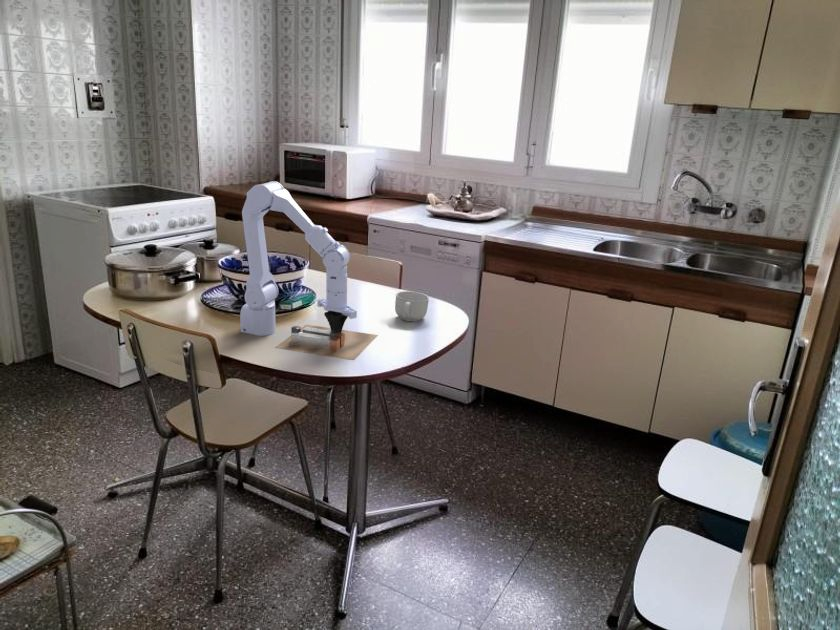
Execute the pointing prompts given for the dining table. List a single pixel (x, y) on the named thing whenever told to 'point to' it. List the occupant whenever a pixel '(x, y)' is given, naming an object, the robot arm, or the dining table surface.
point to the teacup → (411, 305)
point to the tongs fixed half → (314, 340)
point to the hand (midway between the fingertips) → (336, 335)
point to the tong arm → (326, 333)
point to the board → (349, 350)
